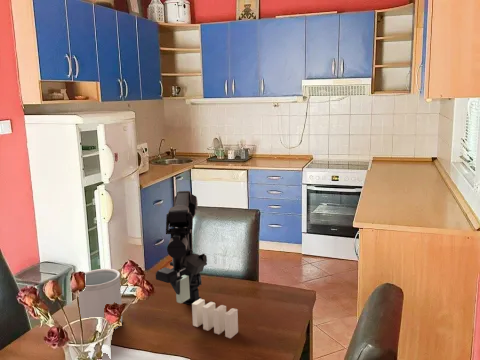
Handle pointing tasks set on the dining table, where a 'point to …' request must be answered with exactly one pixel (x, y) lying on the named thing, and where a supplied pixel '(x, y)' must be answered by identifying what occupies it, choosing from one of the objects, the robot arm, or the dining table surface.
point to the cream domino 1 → (197, 312)
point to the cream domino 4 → (231, 323)
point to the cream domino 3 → (219, 319)
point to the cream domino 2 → (208, 316)
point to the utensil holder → (99, 292)
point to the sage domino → (183, 290)
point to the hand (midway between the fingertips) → (182, 291)
